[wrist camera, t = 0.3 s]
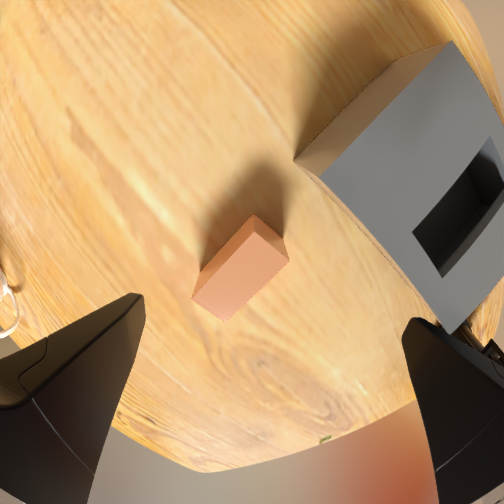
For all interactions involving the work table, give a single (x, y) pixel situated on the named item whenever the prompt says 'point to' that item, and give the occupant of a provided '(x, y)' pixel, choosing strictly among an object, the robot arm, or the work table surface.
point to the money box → (422, 177)
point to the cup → (2, 288)
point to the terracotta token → (240, 269)
